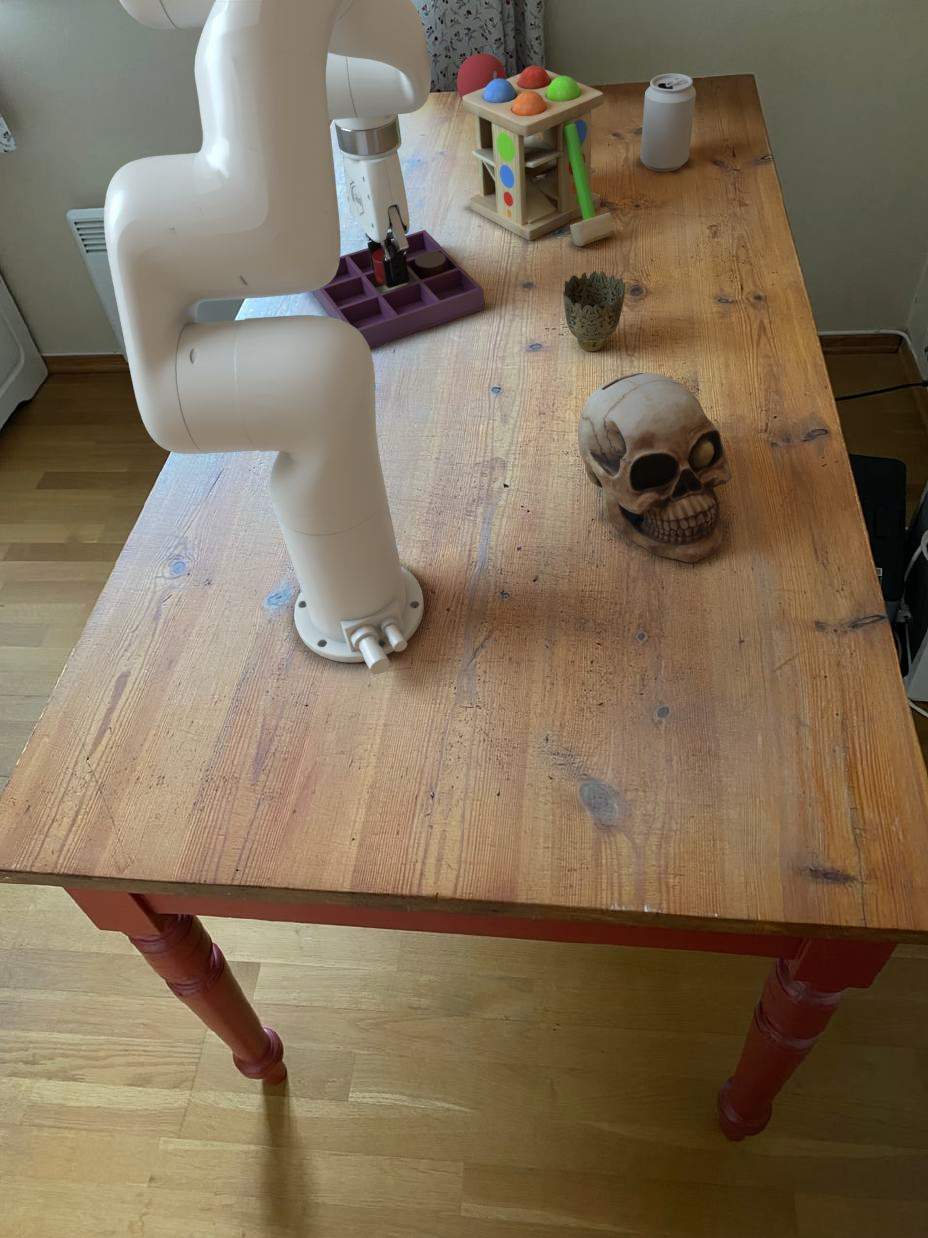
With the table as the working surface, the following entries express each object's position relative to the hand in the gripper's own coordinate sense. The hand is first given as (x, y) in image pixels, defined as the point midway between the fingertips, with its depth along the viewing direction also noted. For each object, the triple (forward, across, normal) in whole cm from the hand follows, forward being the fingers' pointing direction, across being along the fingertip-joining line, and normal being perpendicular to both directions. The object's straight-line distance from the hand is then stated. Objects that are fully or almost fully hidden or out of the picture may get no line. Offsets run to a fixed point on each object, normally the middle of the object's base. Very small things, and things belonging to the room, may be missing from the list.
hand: (390, 274), depth 120 cm
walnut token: (+3, 0, +6) cm, 7 cm away
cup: (+4, +24, +17) cm, 30 cm away
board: (+3, 0, 0) cm, 3 cm away
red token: (0, 0, 0) cm, 0 cm away
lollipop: (+4, -31, +30) cm, 43 cm away
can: (+4, -12, +52) cm, 53 cm away
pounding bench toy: (+4, -7, +29) cm, 30 cm away
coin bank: (+4, +51, +8) cm, 52 cm away
